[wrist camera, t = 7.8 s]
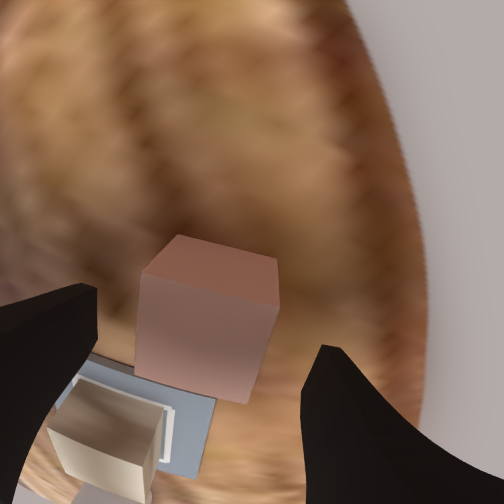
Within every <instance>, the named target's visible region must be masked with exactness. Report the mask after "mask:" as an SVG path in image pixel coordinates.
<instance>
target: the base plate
mask: <svg viewBox="0 0 504 504" xmlns="http://www.w3.org/2000/svg"><path fill="white" fill-rule="evenodd" d="M80 378H81V379H83V380H86V381H88V382H91V383H93V384H96V385H98V386H101V387H103V388H106V389H109V390H112V391H114V392H117V393H120V394H123V395H126V396H129V397H132V398H135V399H138V400H141V401H144V402H147V403H150V404H153V405H157V406H160V407H164V415H163V429H162V447H161V456H160V459H159V462H158V466H157V470H160V471H164V472H167V473H171V474H175V475H179V476H183V477H187V478H191V479H195V480H196V478H197V474H198V470H199V466H200V462H201V458H202V454H203V449H204V445H205V441H206V437H207V433H208V429H209V425H210V421H211V417H212V413H213V409H214V405H215V401H216V398H215V397H211V396H207V395H203V394H199V393H195V392H191V391H187V390H183V389H180V388H176V387H173V386H169V385H166V384H162V383H159V382H156V381H153V380H149V379H146V378H143V377H140V376H137V375H134V368H132V367H129V366H126V365H123V364H120V363H117V362H114V361H112V360H109V359H106V358H103V357H101V356H98V355H95V354H92V353H90V355H89V356H88V358H87V360H86V362H85V363H84V364H83V366H82V367H81V369H80V370H79V371H78V373H77V374H76V375H75V377H74V378H73V379H72V381H71V382H70V383H69V385H68V386H67V387H66V389H65V390H64V391H63V393H62V394H61V395H60V397H59V398H58V400H57V401H56V402H55V406H56V409H57V410H58V409H59V407H60V406H61V404H62V403H63V401H64V400H65V399H66V397H67V396H68V394H69V393H70V391H71V390H72V388H73V387H74V386H75V384H76V383H77V381H78V380H79V379H80Z"/></svg>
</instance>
